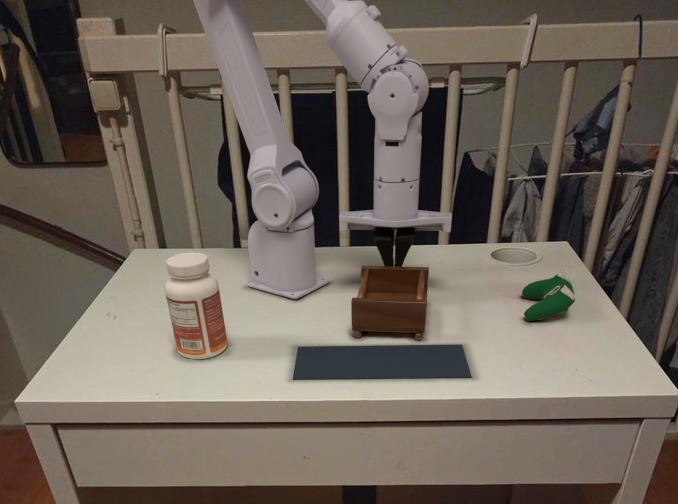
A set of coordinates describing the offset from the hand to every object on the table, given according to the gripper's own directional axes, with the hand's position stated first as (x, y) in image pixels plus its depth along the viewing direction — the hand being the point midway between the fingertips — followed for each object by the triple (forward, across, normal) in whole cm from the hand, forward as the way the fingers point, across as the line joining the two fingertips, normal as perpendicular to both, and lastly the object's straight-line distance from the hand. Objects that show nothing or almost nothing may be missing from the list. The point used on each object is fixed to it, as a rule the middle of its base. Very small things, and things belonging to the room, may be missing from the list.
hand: (393, 283), depth 86 cm
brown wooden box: (+2, 0, +8) cm, 8 cm away
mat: (+2, 0, +20) cm, 20 cm away
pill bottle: (+2, +22, +18) cm, 29 cm away
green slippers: (+2, -20, +3) cm, 21 cm away
